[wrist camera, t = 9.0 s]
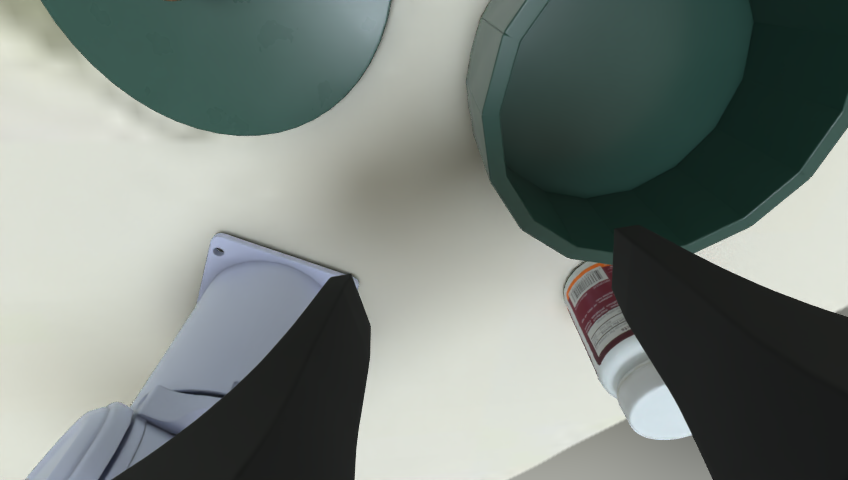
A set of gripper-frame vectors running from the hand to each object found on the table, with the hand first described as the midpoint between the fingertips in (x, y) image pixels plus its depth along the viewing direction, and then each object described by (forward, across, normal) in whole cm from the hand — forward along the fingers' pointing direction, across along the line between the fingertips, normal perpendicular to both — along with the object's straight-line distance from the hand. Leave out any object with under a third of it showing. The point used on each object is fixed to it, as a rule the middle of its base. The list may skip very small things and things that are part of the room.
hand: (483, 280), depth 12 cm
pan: (+10, -7, -2) cm, 12 cm away
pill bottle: (+10, -7, +10) cm, 16 cm away
